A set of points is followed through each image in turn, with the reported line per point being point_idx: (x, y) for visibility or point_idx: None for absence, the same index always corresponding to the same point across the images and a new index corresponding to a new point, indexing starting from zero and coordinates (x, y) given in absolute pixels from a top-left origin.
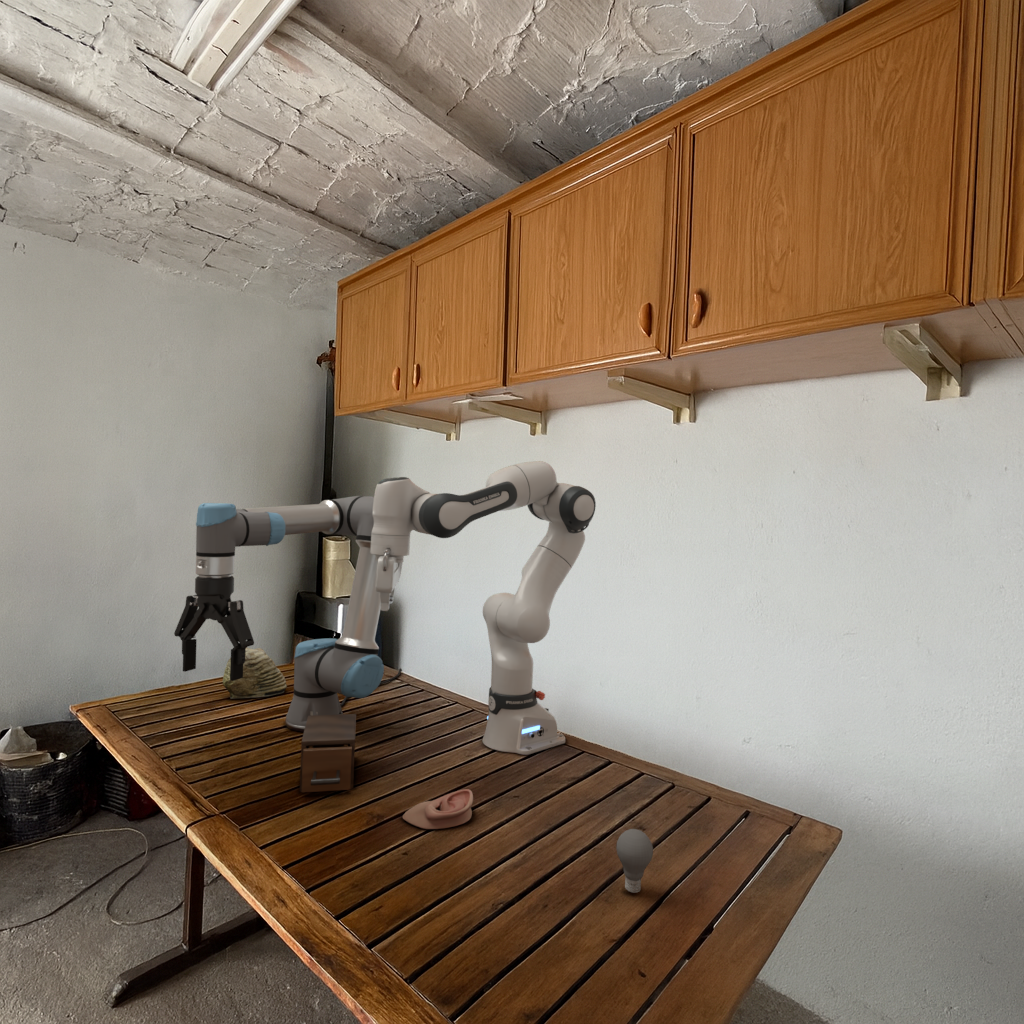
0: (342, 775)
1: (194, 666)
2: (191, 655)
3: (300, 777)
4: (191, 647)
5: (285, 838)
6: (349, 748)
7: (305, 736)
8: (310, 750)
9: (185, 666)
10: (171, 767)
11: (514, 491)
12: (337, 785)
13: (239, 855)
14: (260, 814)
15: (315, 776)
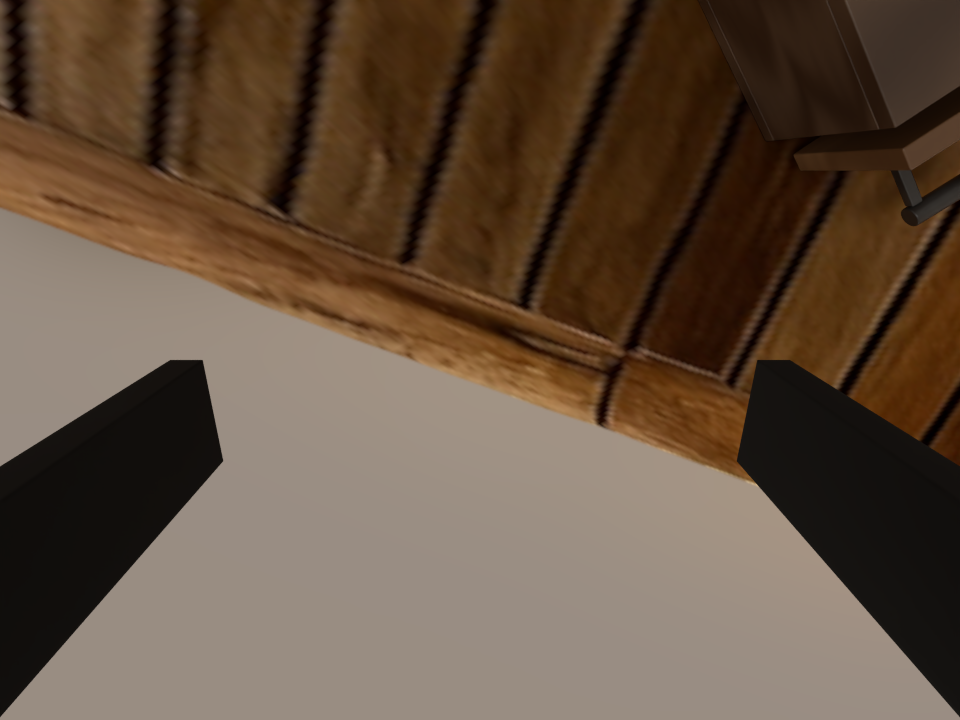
0: None
1: (192, 383)
2: (128, 485)
3: (794, 137)
4: (48, 552)
5: (862, 368)
6: None
7: (886, 62)
8: (941, 150)
9: (198, 484)
10: (251, 205)
11: None
12: None
13: None
14: (732, 308)
15: (913, 179)
